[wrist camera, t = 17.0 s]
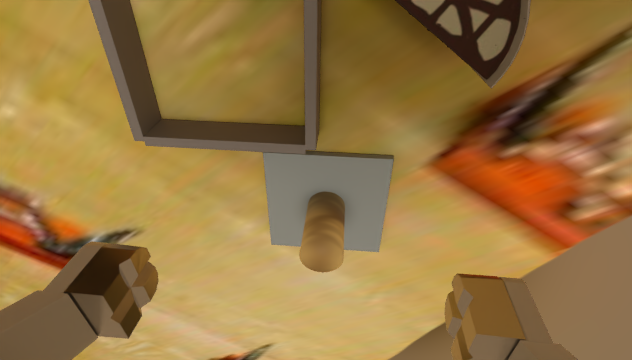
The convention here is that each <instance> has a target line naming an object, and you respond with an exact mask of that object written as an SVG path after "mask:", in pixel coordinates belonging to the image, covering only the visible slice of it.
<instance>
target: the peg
mask: <svg viewBox="0 0 632 360" xmlns="http://www.w3.org/2000/svg"><path fill="white" fill-rule="evenodd" d="M344 224H345V203H344V201H343V199H342V198H341V197H340V196H338V195H337V194H335V193H332V192H319V193H316V194H315V195H313V196H312V197H311V198H310V199H309V202H308V207H307V213H306V219H305V225H304V231H303V237H302V243H301V249H300V260H301V262H302V263H303V264H304V265H305V266H306V267H307V268H309V269H311V270H313V271H317V272H329V271H333V270H335V269H337V268H338V267H340V266H341V264H342V263H343V258H344Z"/></svg>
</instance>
